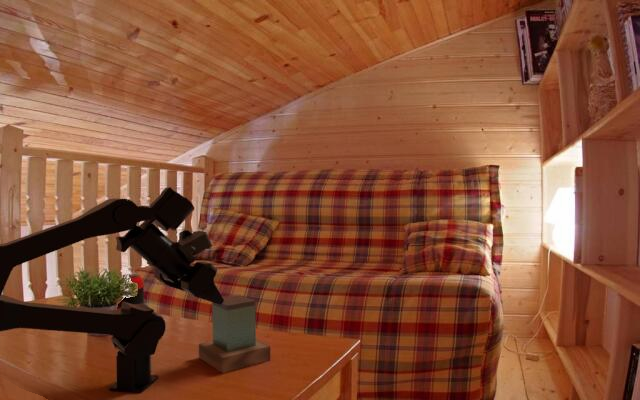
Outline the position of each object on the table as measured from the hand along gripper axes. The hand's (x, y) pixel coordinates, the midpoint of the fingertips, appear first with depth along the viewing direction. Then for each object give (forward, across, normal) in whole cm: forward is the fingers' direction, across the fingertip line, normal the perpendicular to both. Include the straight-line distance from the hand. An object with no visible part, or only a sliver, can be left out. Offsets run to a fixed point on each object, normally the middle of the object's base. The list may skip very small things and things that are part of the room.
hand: (211, 298), depth 94 cm
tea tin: (+11, 0, +4) cm, 12 cm away
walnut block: (+13, 0, +6) cm, 14 cm away
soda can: (+8, +48, +12) cm, 50 cm away
